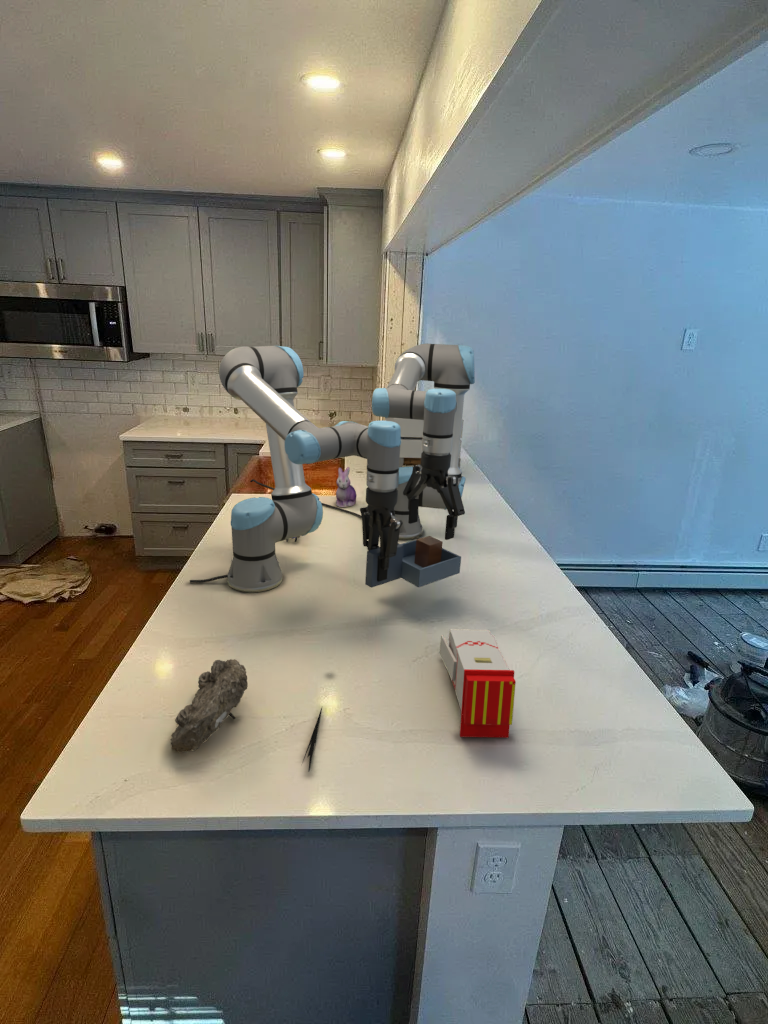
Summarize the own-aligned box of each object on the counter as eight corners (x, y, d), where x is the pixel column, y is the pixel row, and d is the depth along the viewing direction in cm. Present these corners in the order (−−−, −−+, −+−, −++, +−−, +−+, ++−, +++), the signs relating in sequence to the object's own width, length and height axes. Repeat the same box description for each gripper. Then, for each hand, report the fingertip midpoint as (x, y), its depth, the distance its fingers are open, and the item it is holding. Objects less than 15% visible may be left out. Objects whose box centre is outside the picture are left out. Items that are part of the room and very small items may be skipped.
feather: (331, 679, 122) (336, 673, 122) (307, 777, 96) (313, 769, 95) (324, 675, 122) (329, 669, 121) (298, 772, 95) (304, 764, 95)
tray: (349, 574, 145) (350, 542, 142) (419, 553, 161) (422, 524, 158) (388, 598, 135) (390, 563, 132) (459, 573, 151) (463, 541, 148)
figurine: (339, 509, 221) (340, 472, 216) (329, 501, 229) (330, 465, 224) (361, 506, 225) (362, 470, 220) (351, 498, 234) (352, 463, 228)
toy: (489, 613, 130) (525, 677, 101) (485, 667, 133) (518, 744, 104) (437, 612, 130) (457, 676, 101) (434, 666, 133) (453, 743, 103)
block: (414, 563, 153) (416, 539, 151) (427, 559, 156) (429, 535, 154) (427, 569, 149) (429, 545, 147) (440, 565, 153) (442, 541, 150)
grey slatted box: (381, 463, 289) (385, 382, 275) (444, 464, 292) (450, 384, 279) (389, 482, 257) (393, 392, 243) (459, 483, 261) (467, 394, 247)
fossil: (195, 660, 117) (247, 628, 112) (227, 691, 120) (279, 661, 115) (146, 746, 98) (206, 711, 93) (185, 779, 101) (245, 748, 96)
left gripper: (349, 482, 137) (347, 570, 145) (391, 499, 126) (386, 593, 134) (373, 477, 141) (370, 563, 149) (416, 493, 130) (410, 585, 138)
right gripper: (392, 443, 149) (388, 518, 156) (463, 466, 131) (455, 549, 139) (413, 440, 153) (408, 513, 161) (484, 461, 136) (475, 542, 143)
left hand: (378, 577), depth 142 cm, fingers closed on tray, 2 cm apart
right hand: (430, 530), depth 150 cm, fingers open, 13 cm apart
